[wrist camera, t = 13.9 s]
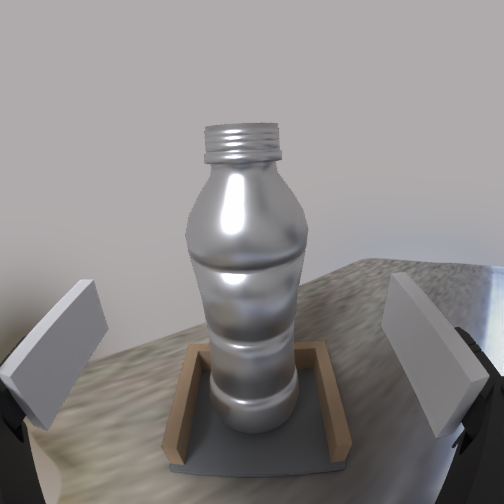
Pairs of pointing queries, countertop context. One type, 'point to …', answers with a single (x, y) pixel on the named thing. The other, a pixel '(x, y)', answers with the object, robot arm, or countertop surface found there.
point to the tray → (266, 443)
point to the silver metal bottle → (248, 275)
